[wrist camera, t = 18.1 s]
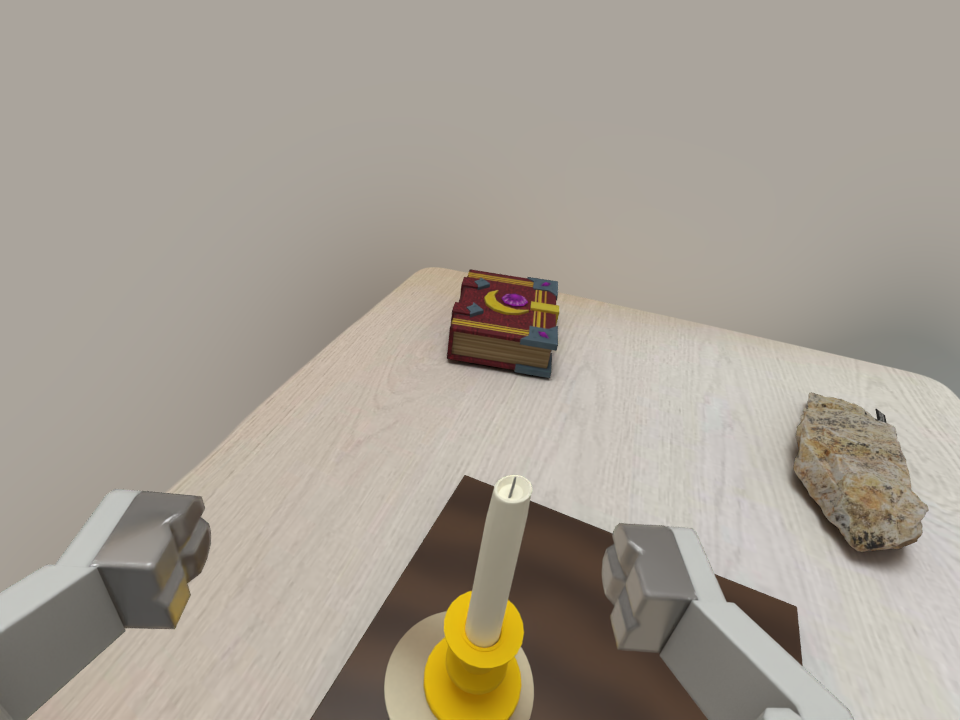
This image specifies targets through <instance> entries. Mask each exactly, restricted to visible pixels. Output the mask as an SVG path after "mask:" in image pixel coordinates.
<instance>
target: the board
mask: <svg viewBox="0 0 960 720" xmlns="http://www.w3.org/2000/svg"><path fill="white" fill-rule="evenodd" d="M493 490H494V486H492V485H489V484H487V483H484V482H481V481H479V480H476V479H474V478H471V477H469V476H466V475H464V477H463V479H462V480H461V482H460V483H459V485H458V486H457V488H456V490H455V491H454V493H453V494H452V496H451V497H450V499H449V501H448V502H447V504H446V505H445V507H444V509H443V510H442V512H441V513H440V515H439V516H438V518H437V520H436V521H435V523H434V524H433V526H432V528H431V529H430V531H429V532H428V534H427V535H426V537H425V539H424V540H423V542H422V543H421V545H420V547H419V548H418V550H417V551H416V553H415V554H414V556H413V558H412V559H411V561H410V562H409V564H408V566H407V567H406V569H405V570H404V572H403V573H402V575H401V577H400V578H399V580H398V581H397V583H396V585H395V586H394V588H393V589H392V591H391V592H390V594H389V596H388V597H387V599H386V600H385V602H384V604H383V605H382V607H381V608H380V610H379V611H378V613H377V615H376V616H375V618H374V619H373V621H372V623H371V624H370V626H369V627H368V629H367V630H366V632H365V634H364V635H363V637H362V638H361V640H360V641H359V643H358V645H357V646H356V648H355V649H354V651H353V653H352V654H351V656H350V657H349V659H348V660H347V662H346V664H345V665H344V667H343V668H342V670H341V672H340V673H339V675H338V676H337V678H336V679H335V681H334V683H333V684H332V686H331V687H330V689H329V691H328V692H327V694H326V695H325V697H324V698H323V700H322V702H321V703H320V705H319V706H318V708H317V710H316V711H315V713H314V714H313V716H312V717H311V719H310V720H438V719H437V718H436V716H435V715H434V714H433V713H432V711H431V709H430V707H429V705H428V702H427V700H426V696H425V691H424V671H425V666H426V663H427V660H428V657H429V655H430V654H431V652H432V650H433V649H434V647H435V646H436V645H437V644H438V643H439V642H440V641H441V640H442V639H443V638H444V637H445V634H444V619H445V616H446V612H447V610H448V608H449V607H450V605H451V604H452V602H453V601H454V600H456V599H457V598H458V597H459V596H460V595H462V594H464V593H467V592H469V591H472V589H473V584H474V579H475V573H476V568H477V563H478V558H479V553H480V547H481V542H482V537H483V532H484V527H485V522H486V517H487V513H488V509H489V505H490V501H491V498H492V494H493ZM613 544H614V541H613V537H612V533H610V532H607V531H605V530H602V529H600V528H597V527H595V526H592V525H590V524H587V523H585V522H582V521H580V520H577V519H575V518H572V517H570V516H567V515H565V514H562V513H560V512H557V511H555V510H552V509H549V508H547V507H544V506H542V505H539V504H537V503H534V502H532V501H530V503H529V509H528V515H527V520H526V524H525V528H524V533H523V537H522V541H521V546H520V550H519V554H518V559H517V563H516V567H515V571H514V576H513V580H512V584H511V589H510V593H509V597H508V600H509V601H510V602H511V603H512V604H513V605H514V606H515V608H516V609H517V610H518V612H519V614H520V616H521V619H522V622H523V629H524V635H523V641H522V645H521V647H520V649H519V651H518V653H517V654H516V655H515V656H514V657H515V658H516V660H517V663H518V666H519V669H520V672H521V684H522V686H521V692H520V698H519V701H518V704H517V706H516V708H515V710H514V713H513V715H512V716H511V717H510V718H509V719H508V720H708V719H707V717H706V716H705V715H704V714H703V712H702V711H701V710H700V708H699V707H698V706H697V704H696V703H695V702H694V700H693V699H692V698H691V696H690V695H689V694H688V692H687V691H686V690H685V688H684V687H683V686H682V685H681V683H680V682H679V681H678V679H677V678H676V677H675V675H674V674H673V673H672V671H671V670H670V669H669V667H668V666H667V665H666V663H665V662H664V661H663V659H662V658H661V657H660V656H659V655H660V653H653V652H639V651H626V650H618V649H617V645H616V640H615V636H614V632H613V628H612V623H611V619H610V616H611V613H612V611H613V609H614V607H615V606H614V605H613V604H612V603H611V601H610V600H609V599H608V598H607V597H606V596H605V593H604V588H603V583H602V561H603V557H604V554H605V551H606V549H607V548H608V547H610V546H611V545H613ZM715 577H716V579H717V581H718V583H719V586H720V588H721V590H722V593H723V595H724V597H725V600H726V602H730V603H735V604H736V605H737V606H738V607H739V608H740V609H741V610H742V611H743V612H744V613H745V614H747V615H748V616H749V617H750V618H751V619H752V620H753V621H754V622H755V623H756V624H757V625H758V626H759V627H761V628H762V629H763V630H764V631H765V632H766V633H767V634H768V635H769V636H770V637H771V638H772V639H774V640H775V641H776V642H777V643H778V644H779V645H780V646H781V647H782V648H783V649H784V650H785V651H786V652H788V653H789V654H790V655H791V656H792V657H793V658H794V659H795V660H796V661H797V662H798V663H799V664H801V665H802V655H801V644H800V634H799V624H798V613H797V607H796V606H794V605H791V604H789V603H786V602H784V601H781V600H779V599H776V598H774V597H771V596H769V595H766V594H764V593H761V592H758V591H756V590H753V589H751V588H748V587H746V586H743V585H741V584H738V583H736V582H733V581H731V580H728V579H726V578H723V577H721V576H718V575H716V574H715ZM802 666H803V665H802Z"/></svg>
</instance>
